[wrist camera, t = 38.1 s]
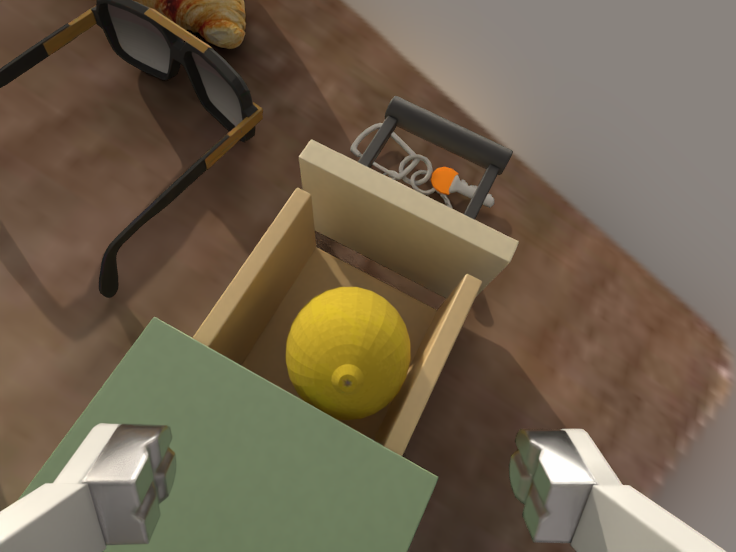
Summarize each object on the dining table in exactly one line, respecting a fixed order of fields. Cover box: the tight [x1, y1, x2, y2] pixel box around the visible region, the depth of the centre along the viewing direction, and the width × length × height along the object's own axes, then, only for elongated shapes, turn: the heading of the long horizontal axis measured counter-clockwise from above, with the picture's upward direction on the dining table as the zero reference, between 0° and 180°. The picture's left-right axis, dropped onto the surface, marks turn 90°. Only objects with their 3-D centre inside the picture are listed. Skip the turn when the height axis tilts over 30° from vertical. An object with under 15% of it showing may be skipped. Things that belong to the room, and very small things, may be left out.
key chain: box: [351, 123, 494, 209], centre depth 29 cm, size 13×7×1 cm, turn 48°
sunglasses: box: [0, 0, 263, 298], centre depth 27 cm, size 14×15×5 cm
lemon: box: [285, 287, 411, 420], centre depth 20 cm, size 6×6×8 cm
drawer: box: [193, 96, 519, 456], centre depth 23 cm, size 20×11×7 cm, turn 152°
